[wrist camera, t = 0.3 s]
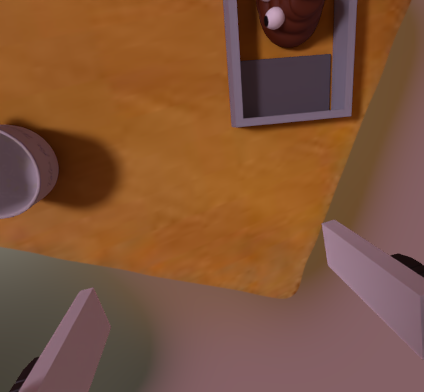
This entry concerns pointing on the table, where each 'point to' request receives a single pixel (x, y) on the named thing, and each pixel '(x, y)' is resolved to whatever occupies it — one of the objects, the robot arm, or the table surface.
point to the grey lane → (291, 77)
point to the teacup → (24, 169)
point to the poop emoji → (289, 20)
